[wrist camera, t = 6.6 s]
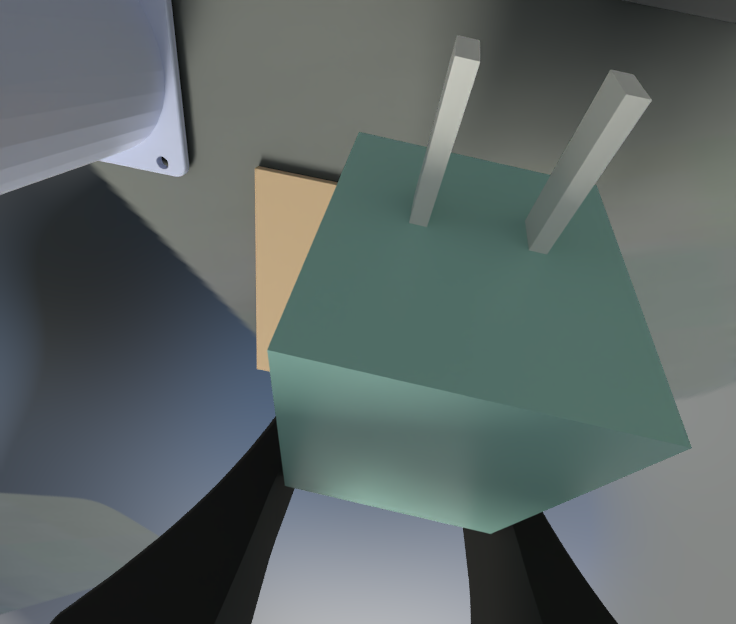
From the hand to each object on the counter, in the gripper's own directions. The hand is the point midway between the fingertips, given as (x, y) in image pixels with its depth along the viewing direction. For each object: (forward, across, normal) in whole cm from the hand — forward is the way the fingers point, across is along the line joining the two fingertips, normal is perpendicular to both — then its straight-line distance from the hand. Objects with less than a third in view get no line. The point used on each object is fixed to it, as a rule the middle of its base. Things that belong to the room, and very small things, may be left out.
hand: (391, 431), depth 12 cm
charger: (+1, 0, -6) cm, 6 cm away
